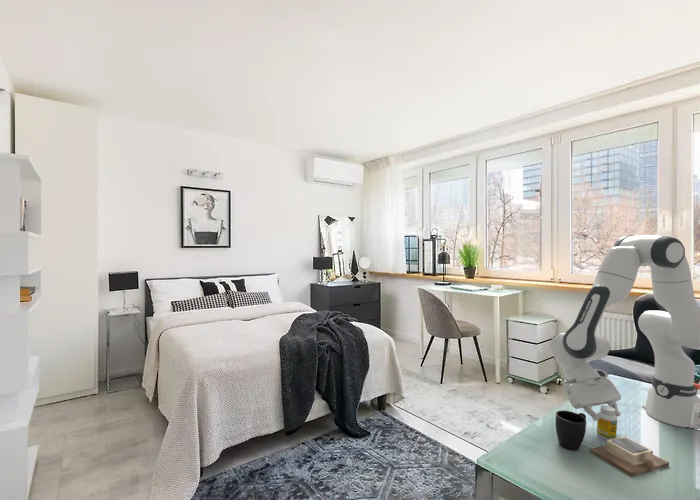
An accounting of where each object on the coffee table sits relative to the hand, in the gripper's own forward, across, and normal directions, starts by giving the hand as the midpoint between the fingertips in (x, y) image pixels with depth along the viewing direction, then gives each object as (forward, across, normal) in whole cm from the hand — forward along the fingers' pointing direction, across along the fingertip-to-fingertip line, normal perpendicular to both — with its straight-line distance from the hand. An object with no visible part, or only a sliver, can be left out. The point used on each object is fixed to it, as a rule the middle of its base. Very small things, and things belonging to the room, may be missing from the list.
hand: (607, 418), depth 122 cm
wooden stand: (+12, -6, -3) cm, 14 cm away
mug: (+5, -16, +4) cm, 17 cm away
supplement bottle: (+4, 0, +5) cm, 6 cm away
